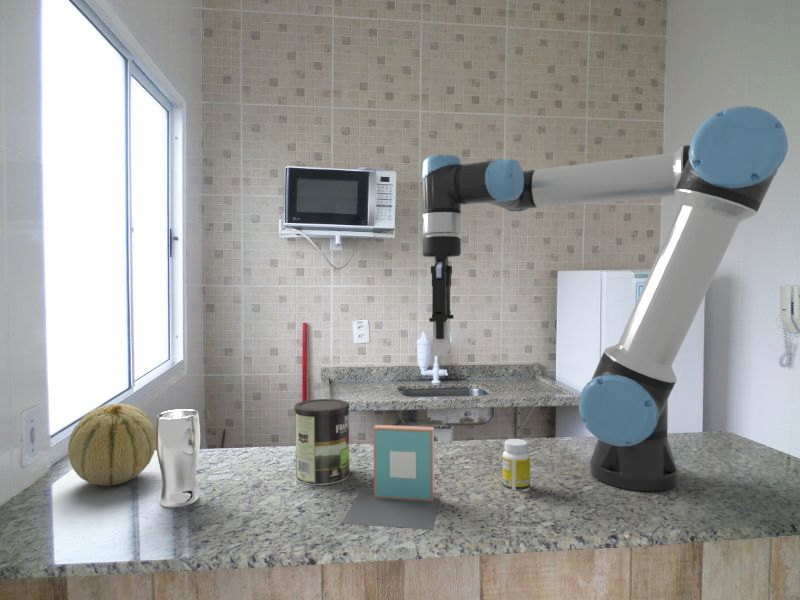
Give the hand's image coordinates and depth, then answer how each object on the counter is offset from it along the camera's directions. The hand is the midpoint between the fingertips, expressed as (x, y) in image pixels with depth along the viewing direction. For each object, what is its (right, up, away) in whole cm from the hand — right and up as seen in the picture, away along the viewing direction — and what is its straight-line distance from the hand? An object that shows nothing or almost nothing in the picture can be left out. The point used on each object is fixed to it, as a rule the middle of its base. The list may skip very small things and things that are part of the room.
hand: (442, 353), depth 107 cm
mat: (-9, -24, -19) cm, 32 cm away
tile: (-8, -23, -16) cm, 29 cm away
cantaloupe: (-62, -24, -6) cm, 67 cm away
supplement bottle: (+12, -23, -10) cm, 28 cm away
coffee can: (-23, -24, -4) cm, 33 cm away
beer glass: (-46, -24, -15) cm, 54 cm away
